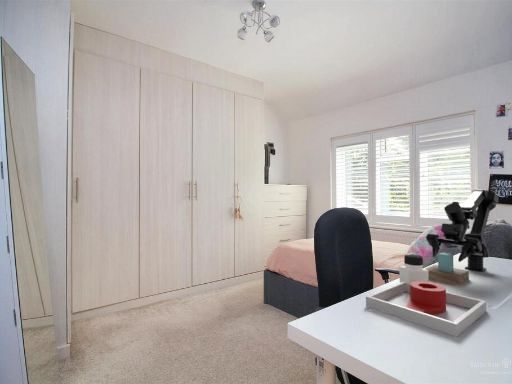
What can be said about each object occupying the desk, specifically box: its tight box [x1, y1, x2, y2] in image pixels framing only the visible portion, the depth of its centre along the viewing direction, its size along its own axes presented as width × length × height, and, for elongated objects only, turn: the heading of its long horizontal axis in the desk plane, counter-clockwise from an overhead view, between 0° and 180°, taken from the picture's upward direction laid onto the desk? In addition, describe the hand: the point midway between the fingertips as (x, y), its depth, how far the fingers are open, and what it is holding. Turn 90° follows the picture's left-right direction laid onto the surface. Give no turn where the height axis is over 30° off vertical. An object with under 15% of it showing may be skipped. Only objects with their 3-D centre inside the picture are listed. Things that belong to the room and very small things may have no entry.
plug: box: [437, 251, 454, 272], centre depth 114 cm, size 4×4×10 cm
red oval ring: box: [405, 281, 447, 316], centre depth 85 cm, size 18×9×7 cm, turn 130°
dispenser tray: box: [365, 282, 487, 338], centre depth 86 cm, size 24×24×3 cm
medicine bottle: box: [399, 253, 430, 283], centre depth 106 cm, size 7×7×12 cm
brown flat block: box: [425, 264, 470, 287], centre depth 114 cm, size 12×12×4 cm
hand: (445, 258), depth 114 cm, fingers open, 9 cm apart
